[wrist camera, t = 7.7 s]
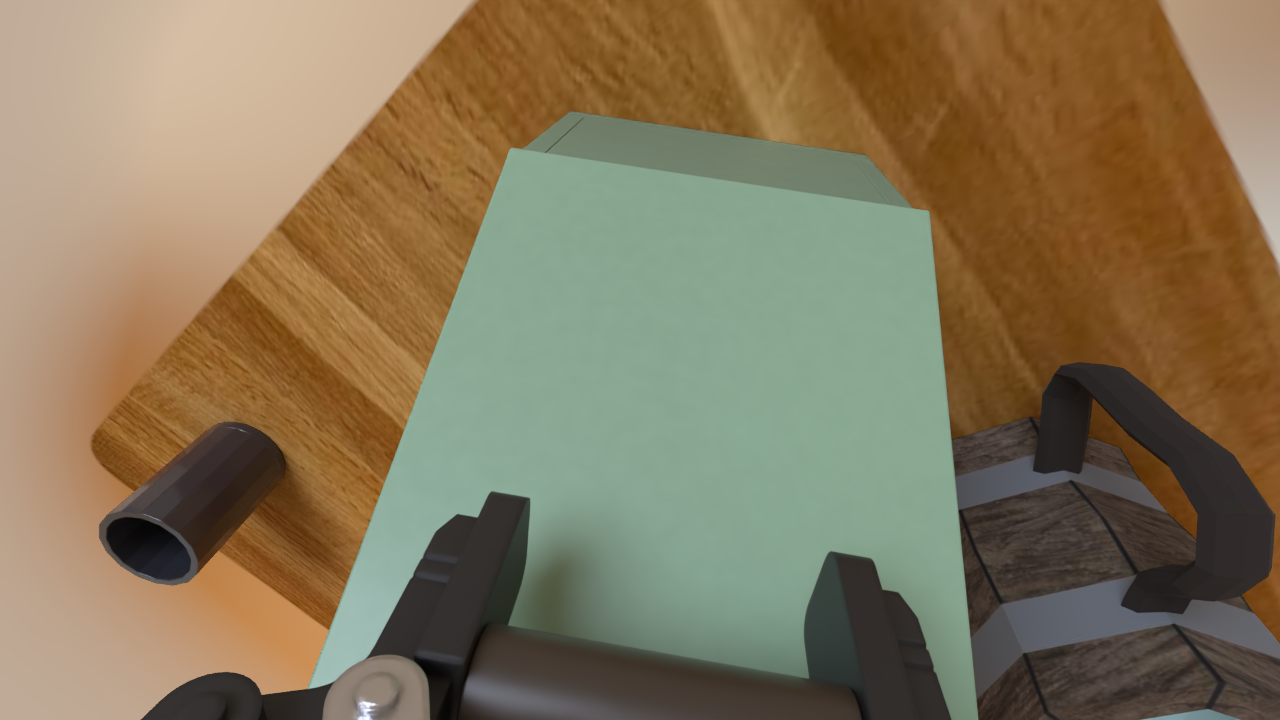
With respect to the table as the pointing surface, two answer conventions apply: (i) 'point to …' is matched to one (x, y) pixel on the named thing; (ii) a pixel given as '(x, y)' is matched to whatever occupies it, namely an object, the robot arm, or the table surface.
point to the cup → (193, 504)
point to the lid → (678, 444)
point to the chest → (718, 157)
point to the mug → (1111, 566)
